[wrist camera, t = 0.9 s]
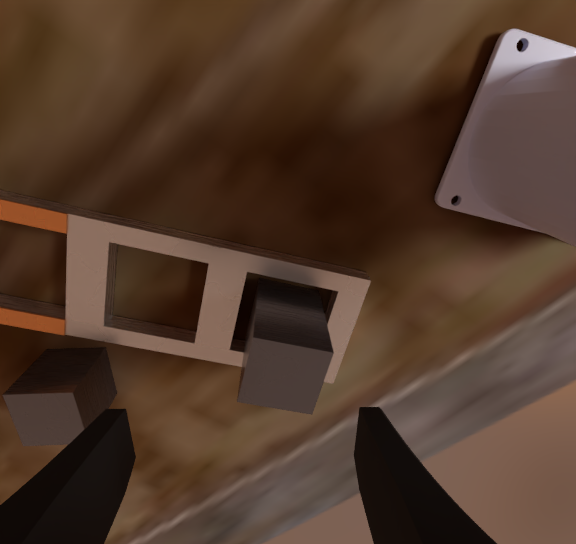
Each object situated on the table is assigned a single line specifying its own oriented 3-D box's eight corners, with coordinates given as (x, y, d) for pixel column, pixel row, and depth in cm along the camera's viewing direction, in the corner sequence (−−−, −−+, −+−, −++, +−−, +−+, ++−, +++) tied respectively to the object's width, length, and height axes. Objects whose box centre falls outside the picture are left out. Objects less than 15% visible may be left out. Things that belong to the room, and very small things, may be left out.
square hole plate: (366, 271, 21) (371, 281, 20) (330, 370, 23) (333, 384, 22) (-58, 177, 18) (-82, 181, 17) (-45, 300, 21) (-64, 312, 20)
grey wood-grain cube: (106, 346, 22) (72, 392, 19) (117, 392, 24) (88, 443, 20) (47, 348, 22) (2, 395, 19) (62, 394, 24) (23, 446, 20)
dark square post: (318, 290, 21) (333, 352, 16) (303, 340, 23) (312, 414, 17) (258, 277, 21) (253, 337, 15) (246, 329, 22) (237, 401, 17)
